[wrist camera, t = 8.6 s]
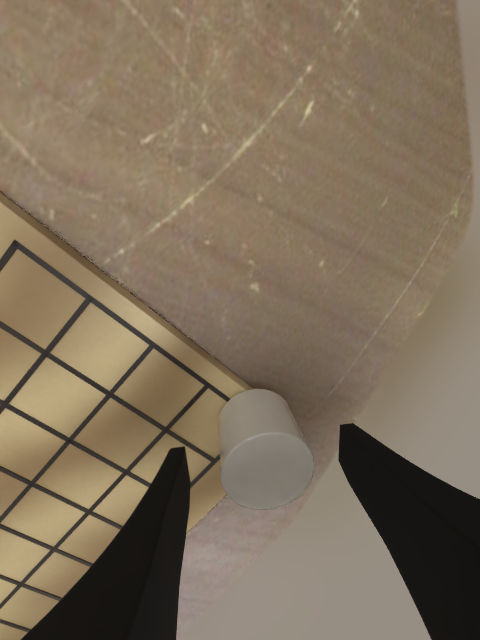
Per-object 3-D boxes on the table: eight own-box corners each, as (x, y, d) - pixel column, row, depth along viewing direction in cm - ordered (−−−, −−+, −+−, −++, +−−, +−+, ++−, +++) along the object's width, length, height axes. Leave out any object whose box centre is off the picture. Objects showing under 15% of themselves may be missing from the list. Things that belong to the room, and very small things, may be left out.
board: (290, 417, 15) (296, 429, 14) (58, 644, 19) (49, 667, 18) (-4, 188, 11) (-27, 182, 10) (-249, 544, 14) (-286, 567, 13)
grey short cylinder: (305, 414, 14) (334, 463, 11) (257, 462, 15) (271, 524, 11) (252, 374, 13) (265, 415, 10) (202, 427, 14) (200, 484, 10)
